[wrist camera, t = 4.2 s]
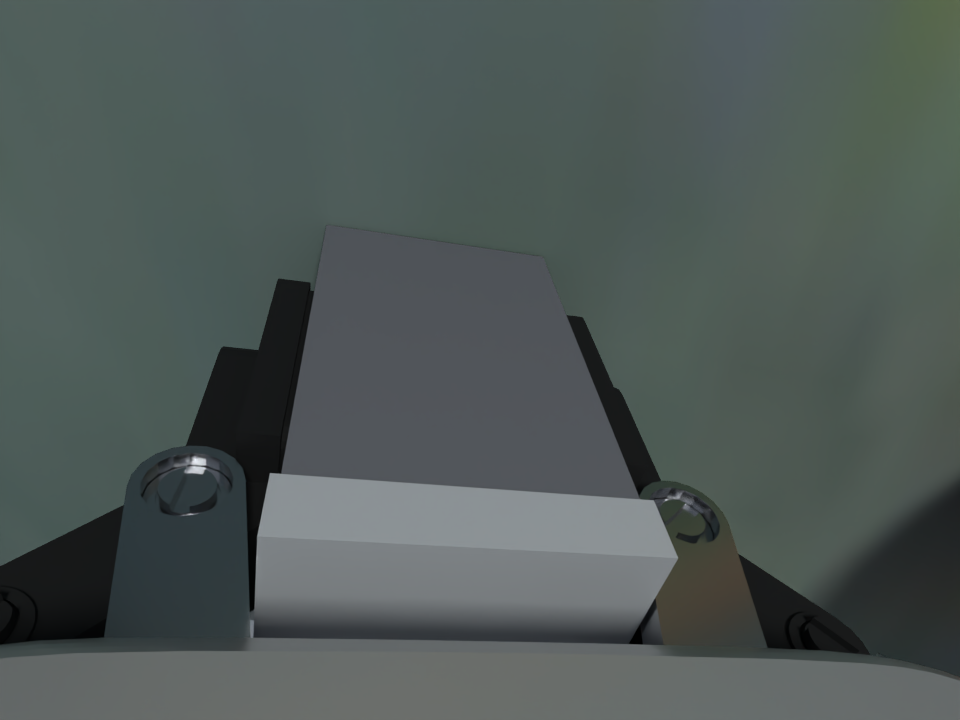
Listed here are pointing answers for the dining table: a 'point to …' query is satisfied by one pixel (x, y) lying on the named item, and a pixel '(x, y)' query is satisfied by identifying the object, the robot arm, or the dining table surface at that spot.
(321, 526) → the plug
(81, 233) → the dining table surface
